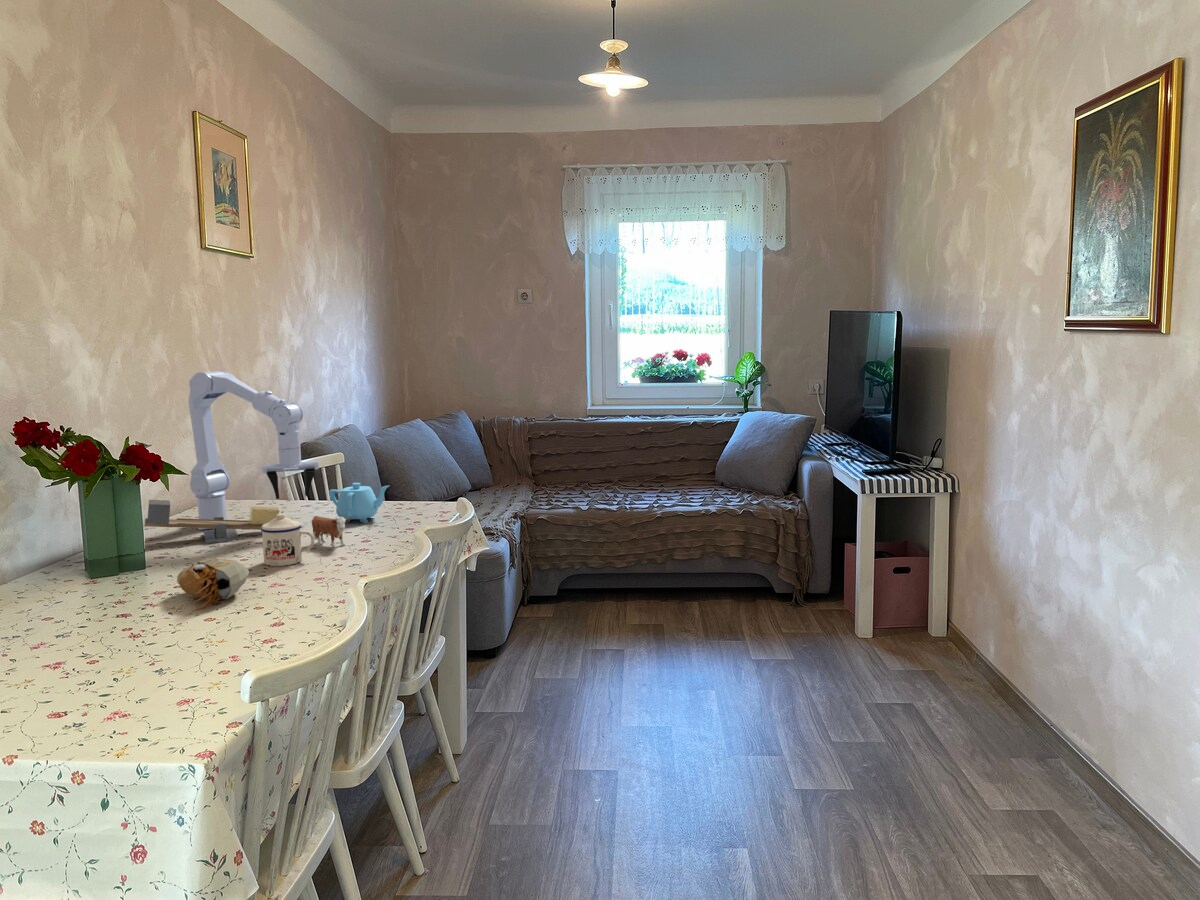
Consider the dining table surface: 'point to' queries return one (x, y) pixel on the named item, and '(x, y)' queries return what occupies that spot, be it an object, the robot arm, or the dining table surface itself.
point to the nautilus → (212, 579)
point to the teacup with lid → (283, 541)
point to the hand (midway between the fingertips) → (292, 497)
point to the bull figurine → (328, 528)
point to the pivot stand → (220, 533)
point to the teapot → (357, 502)
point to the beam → (161, 513)
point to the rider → (262, 515)
